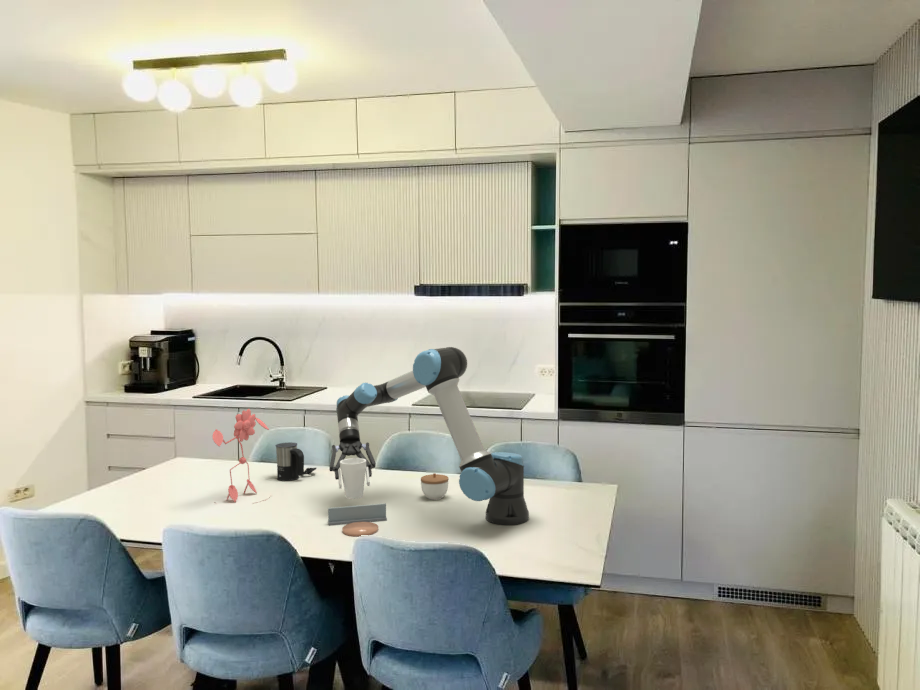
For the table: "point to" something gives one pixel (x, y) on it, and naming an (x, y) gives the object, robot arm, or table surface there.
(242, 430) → the figurine
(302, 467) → the milk frother
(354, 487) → the foam cup
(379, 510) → the low wall
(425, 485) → the lidded jar
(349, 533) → the terracotta coaster
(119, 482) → the table surface
